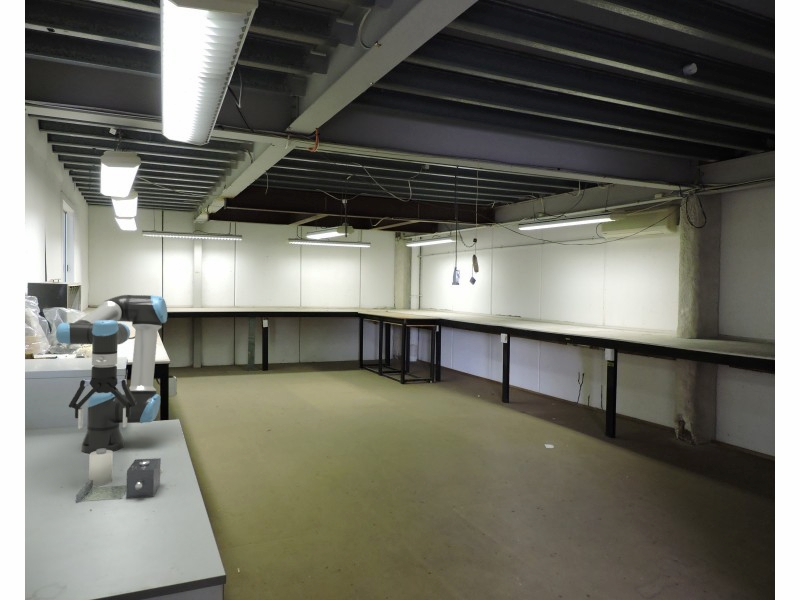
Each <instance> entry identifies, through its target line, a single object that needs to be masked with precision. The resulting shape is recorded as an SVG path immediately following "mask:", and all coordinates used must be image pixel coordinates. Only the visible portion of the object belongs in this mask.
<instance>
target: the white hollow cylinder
mask: <svg viewBox="0 0 800 600" xmlns="http://www.w3.org/2000/svg"><path fill="white" fill-rule="evenodd" d="M88 454H89V458H88V459H89V462H88V464H89V465H88V481H89V480H93V487H98V486H104V485H106V484H110V483H112V481H113V465H114V464H113V460H114V459H113V457H114V456H113V455H114V451H111V450H106V449H105V448H101V449H97V450H96V451H94V452H92V453H88Z"/></svg>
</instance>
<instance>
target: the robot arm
mask: <svg viewBox="0 0 800 600" xmlns="http://www.w3.org/2000/svg"><path fill="white" fill-rule="evenodd" d="M166 303H167V302H166V301H165V299H164V297H162V296H159V295H153V294H152V295H144V294H143V295H142V294H141V295H137V294H136V295H135V294H122V295H118V296H114V297H111V298H108V299H106V300H104V301H102V302H101V303H99V304H98V305H97V306H96V308H95V309H94V310H93V311H90V312H89V313H86V315H83V316H82V317H81V318H79V319H78V320H75V322H68V321H67V322H61V323H60V324H58V326H57V327H56V331H55V332H56V333H55V334H56V335H55V336H56V341H57V342H58V343H59V344H63V345H92V346H91V349H92V350H91V365H92V367H91V375H90V376H91V378H90V379H85V378H83V379H82V380H81V381H80V383H79V387H78V389H77V391H76V392H75V394H74V395H73V397H72V399H71V401H70V402H69V404H68V408H71V409H74V418H75V419H77V429H79V430H80V429H82V428H83V427H84V411H85V410H84V407H83V406H84V404H85V403H87V406H86V407H87V418H86V419H87V422H86V424H87V426H86V433H85V436H84V437H83V440H82V443H81V451H82V452H83V453H86V454H90V453H92V452H94V451H96V450H97V449H101V448H105V449H106V450H111V451H113V452H114V451H117V450H121V449H122V448H123V447H124V445H125V444H124V438H123V435H122V434H123V433H122V431H121V430H120V424H122V428H127V426H128V424H129V423H130V424H131V423H132V424H139V423H140V424H144V423H145V424H146V423H152V422H153V421H154V420H156V418H157V415H158V414H159V410H160V406H161V395H160V394H158V393H157V389H156V388H155V387H154V378H155V377H154V376H155V367H156V366H155V365H156V364H155V363H156V354H157V344H158V343H157V342H158V333H159V332H158V331H159V330H160V329H162V328H163V324H165V323H167V321H168V319H167V318H168V309H167V308H168V307H167V304H166ZM119 322H120V323H119ZM121 322H127V323H128V322H129V323H131V326H132V327H133V328H134V331H135V333H134V341H133V342H134V343H133V354H132V365H131V375H130V386H128V380H127V378H123V379H118V376H117V375H118V367H117V364H118V345H121V344H124V343H126V341H128V340H129V338H130V336H131V329H130V328H129V326H127V324H125V323H121ZM89 385H90V386H91V388H92V389H91V390H89V391H88V393H86V395H85V396H84V397H83V398H82V399H81V400H80V401H79V399H80V397H81V396H82V395H83V392H84V391H85V388H86V387H88V386H89ZM117 385H119V386H120V387H121V388H122V390H123V392H124V394H122V393H121V390H119V389H118V388H117ZM78 401H79V402H78ZM77 402H78V403H77Z"/></svg>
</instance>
